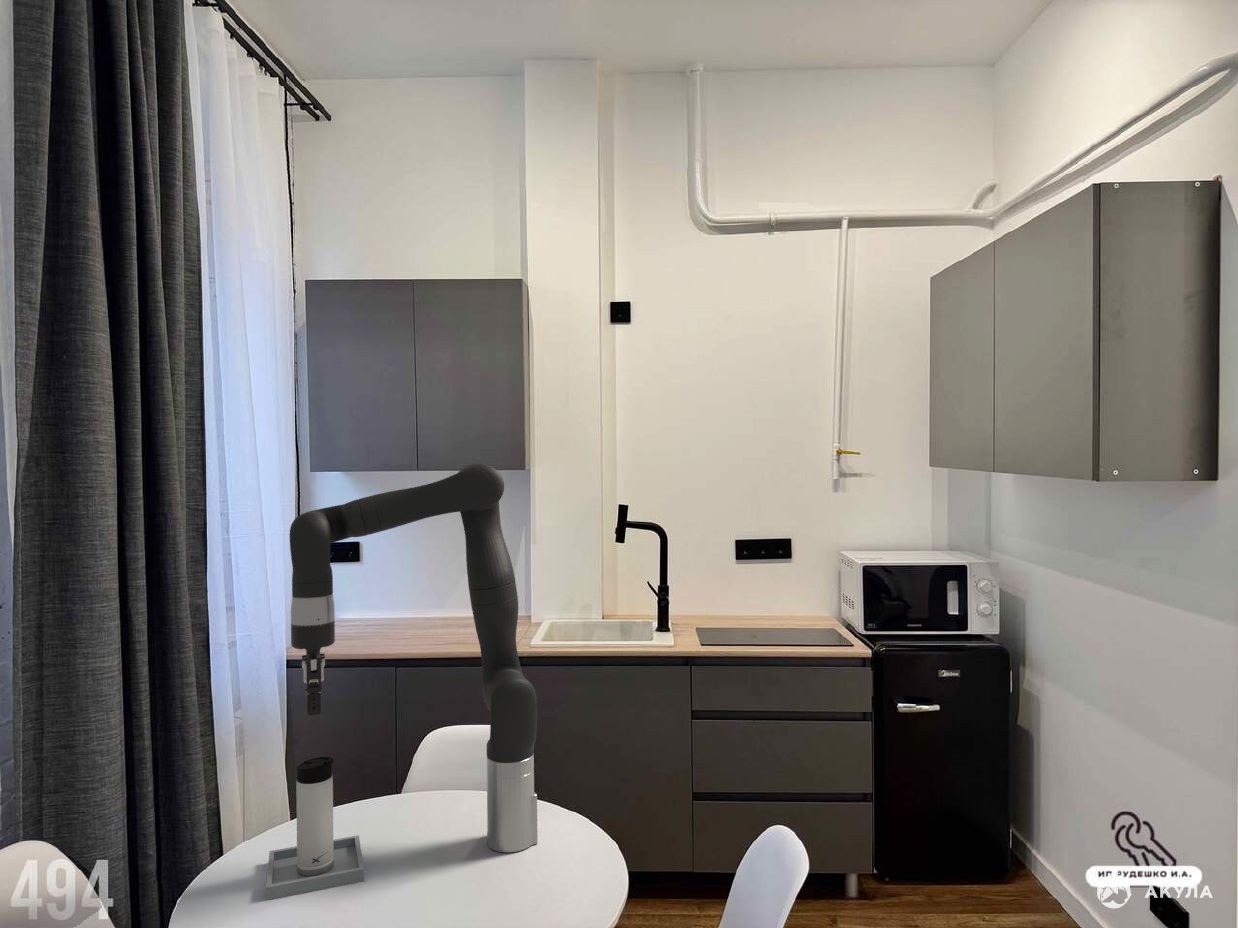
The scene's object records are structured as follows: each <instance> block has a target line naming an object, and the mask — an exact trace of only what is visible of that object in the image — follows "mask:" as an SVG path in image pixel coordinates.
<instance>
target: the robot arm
mask: <svg viewBox="0 0 1238 928" xmlns="http://www.w3.org/2000/svg"><path fill="white" fill-rule="evenodd" d="M504 491H505V481H504V479H503V476H502V475H501V473H500V472H499V471H498V470H497V469H496V468H495V467H493V466H492V465H489V464H487V463H480V462H476V463H475V462H474V463H470V464H467V465H465V466H463V467H462V468H461V469H460V470H459V471H458V472H457V473H455V474H452V475H450V476H448V477H446V478H443V479H440V480H438V481H434V482H431V483H426V484H422V485H419V486H418V485H417V486H414V487H408V488H401V489H395V490H391V491H386V492H385V491H384V492H381V493H377V494H372V495H369V496H365V497H361V498H358V499H354V500H351V501H349V502H348V501H347V502H346V503H343V504H339V505H333V506H327V507H323V508H318V509H312V510H310V511H306V512H303V513H301V514H299V515H298V516H296V517H295V519H294V520H293V521H292V522H291V525H290V529H289V550H290V557H291V565H292V574H291V596H292V597H291V606H290V645H291V647H292V648H294V649H297V650H305V651H306V653H305V654H302V655H301V668H302V670H303V683H304V684H306V688H305V693H306V695H307V696H306V698H307V701H306V703H307V704H306V705H307V706H306V707H307V709H306V710H307V715H308V716H315V715H320V714H321V711H322V707H321V706H322V705H321V702H322V700H321V698H322V696H321V694H322V692H323V686H322V682H324V679H325V674H324V673H325V669H324V667H326V666H325V665H326V656H325V655H326V654H325V652H322V653H321V649H323V648H327V647H330V646H332V645H334V643H335V641H336V637H335V636H336V635H335V634H336V631H335V630H336V629H335V628H336V627H335V626H336V625H335V623H336V621H335V620H336V619H335V614H336V612H335V610H336V609H335V601H334V588H333V587H334V584H333V582H334V581H333V579H334V578H333V569H332V566H331V544H333V543H337V542H340V541H344V540H348V539H349V538H350V539H351V538H360V537H366V536H369V535H374V534H378V533H381V532H384V531H388V530H391V529H395V528H398V527H402V526H404V525H408V524H412V523H414V522H418V521H421V520H425V519H428V518H431V517H435V516H436V517H437V516H441V515H447V514H451V513H460V517H461V521H462V527H463V530H464V538H465V555H466V556H465V559H466V560H465V561H466V576H467V582H468V583H467V585H468V593H469V598H470V604H471V611H472V616H473V622H474V627H475V631H476V634H477V635H476V636H477V639H478V644H479V648H480V649H479V650H480V656H481V672H482V673H481V676H482V679H481V680H482V697H483V701H484V704H485V706H486V708H487V709H488V710H489V712H490V714H489V715H490V719H489V721H490V722H489V723H490V725H489V726H490V727H489V728H490V729H489V732H490V733H489V739H488V741H487V743H486V809H487V810H486V811H487V812H486V813H487V814H486V815H487V816H486V819H487V820H486V821H487V823H486V824H487V825H486V827H487V828H486V830H487V831H486V833H487V834H486V835H487V846H488V847H489V849H491V850H493V851H496V852H499V853H514V852H515V853H516V852H521V851H523V850H526V849H528V848H530V847H531V846H533V845H537V844H538V839H539V838H538V795H537V793H536V792H535V771H534V770H535V763H534V761H535V760H534V759H535V758H534V753H535V752H534V749H535V744H536V740H537V729H538V728H537V724H538V719H537V718H538V707H537V706H538V700H537V699H538V698H537V693H536V690H535V687H534V686H533V684H532V683H531V682H530V681H529V680H528V679H527V678H526V677H525V676H524V674H523V671H522V667H521V664H520V663H521V662H520V658H519V653H518V647H517V628H518V619H519V597H518V590H517V583H516V577H515V573H514V567H513V564H512V563H513V562H512V560H511V555H510V554H509V550H508V548H507V544H506V542H505V541H506V540H505V538H504V534H503V531H502V524H501V513H500V501H501V499H502V497H503V495H504Z"/></svg>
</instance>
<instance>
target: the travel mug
mask: <svg viewBox="0 0 1238 928" xmlns="http://www.w3.org/2000/svg"><path fill="white" fill-rule="evenodd" d="M333 764H334V759H333V758H332V757H331V756H318V757H313V758H309V759H307V760H304V761H303V763H300V764H298V765H296V781H295V782H296V789H295V790H296V793H295V794H296V795H295V796H296V846H297V872H298V873H299V874H301V875H303V876H316V875H320V874H323V873H325V872H327V871H328V870H330V869H331V868H332V866H333V864H334V857H333V840H334V780H333V779H334V775H333Z"/></svg>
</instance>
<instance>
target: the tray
mask: <svg viewBox="0 0 1238 928" xmlns="http://www.w3.org/2000/svg"><path fill="white" fill-rule="evenodd" d="M333 857H334V864H333V866H332V868H331V869H330V870H328V871H327V872H325V873H323V874H320V875H316V876H303V875H301V874H299V873H298V872H297V845H296V846H291V847H286V848H285V847H284V848H280V849H278V848H277V849H272V850H269V853H268V862H267V874H266V875H267V877H266V886H265V888H266V889H265V890H266V891H265V892H266V894H265V895H266V896H265V898H266V901H271V900H275V899H280V898H284V897H285V898H286V897H291V896H296V895H301V894H306V893H312V892H316V891H321V890H322V891H323V890H326V889H327V890H328V889H332V888H337V887H341V886H348V885H351V884H352V885H353V884H357V883H362V882H364V881H365V868H364V860H363V854H362V848H361V840H360V835H359V834H357V835H353V836H347V837H341V838H335V839H333Z"/></svg>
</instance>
